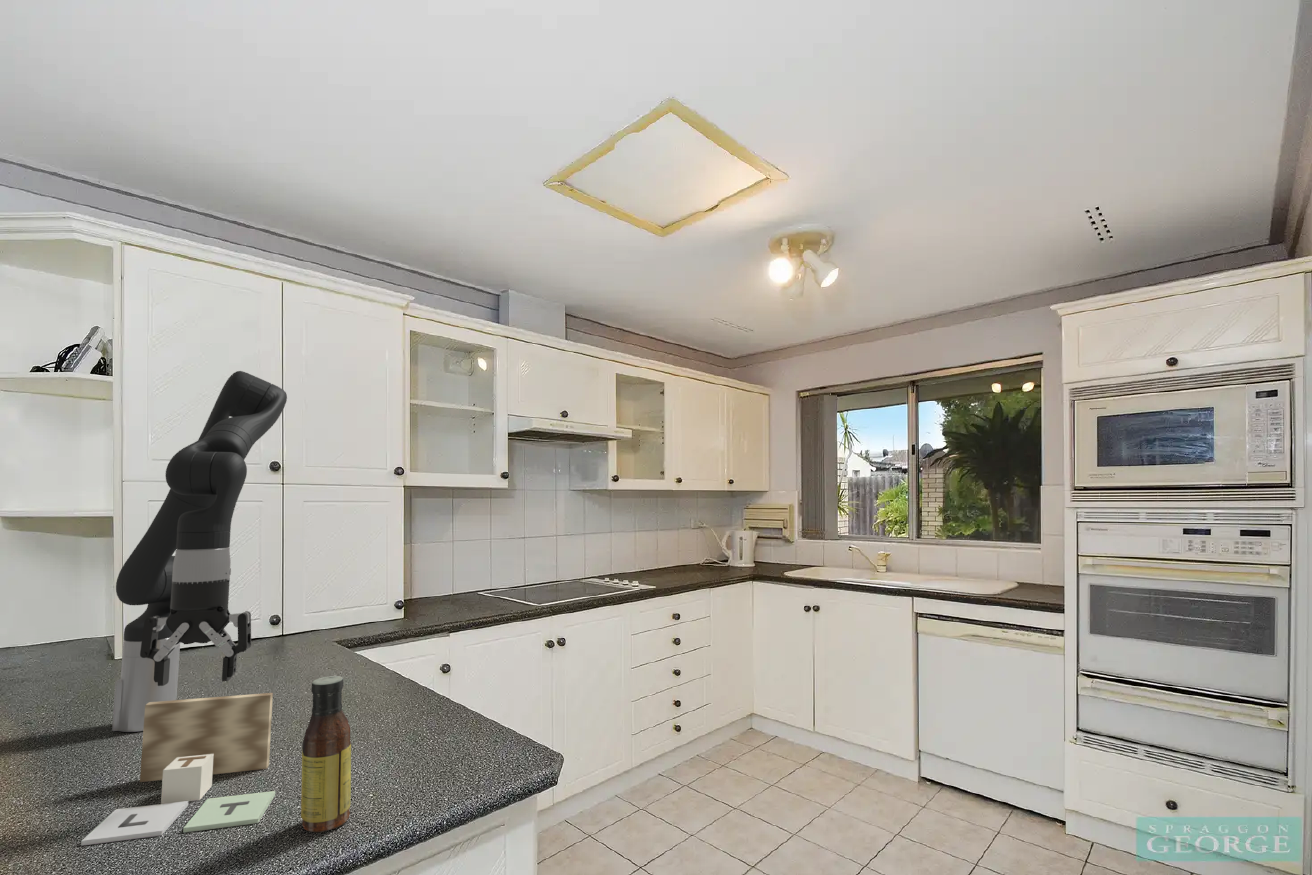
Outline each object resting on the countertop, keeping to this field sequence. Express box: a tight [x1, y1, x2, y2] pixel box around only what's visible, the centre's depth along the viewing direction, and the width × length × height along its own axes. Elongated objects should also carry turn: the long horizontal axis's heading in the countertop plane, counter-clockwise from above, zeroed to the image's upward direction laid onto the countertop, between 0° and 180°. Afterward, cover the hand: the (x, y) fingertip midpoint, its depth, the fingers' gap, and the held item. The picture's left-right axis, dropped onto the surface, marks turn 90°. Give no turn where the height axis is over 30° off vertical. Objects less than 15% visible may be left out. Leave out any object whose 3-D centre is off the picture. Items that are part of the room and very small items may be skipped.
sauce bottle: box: [300, 675, 352, 834], centre depth 92 cm, size 7×6×20 cm
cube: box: [160, 754, 214, 804], centre depth 100 cm, size 5×5×5 cm
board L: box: [80, 801, 189, 846], centre depth 91 cm, size 9×9×1 cm
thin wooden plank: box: [139, 692, 274, 783], centre depth 108 cm, size 18×2×12 cm, turn 107°
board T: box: [182, 790, 276, 834], centre depth 94 cm, size 9×9×1 cm
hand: (195, 682), depth 101 cm, fingers open, 8 cm apart
